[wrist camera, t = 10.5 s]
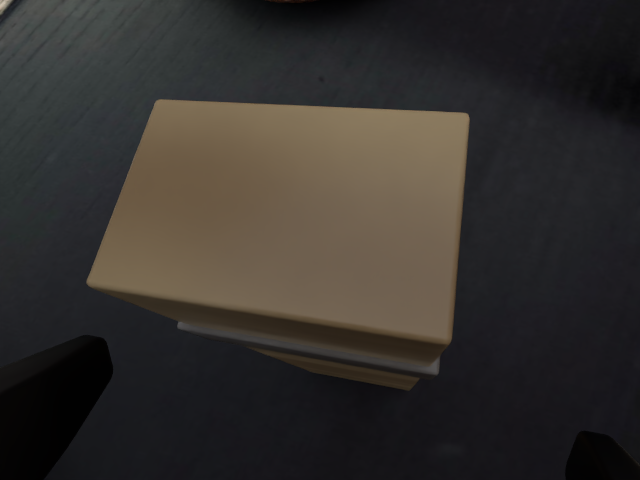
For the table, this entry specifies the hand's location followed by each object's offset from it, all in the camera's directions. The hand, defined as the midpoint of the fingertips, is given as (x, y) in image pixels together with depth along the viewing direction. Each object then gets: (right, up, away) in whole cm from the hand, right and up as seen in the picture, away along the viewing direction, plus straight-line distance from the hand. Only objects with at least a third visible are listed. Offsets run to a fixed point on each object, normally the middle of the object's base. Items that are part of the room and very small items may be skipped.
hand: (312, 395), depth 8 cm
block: (+2, -2, +9) cm, 10 cm away
